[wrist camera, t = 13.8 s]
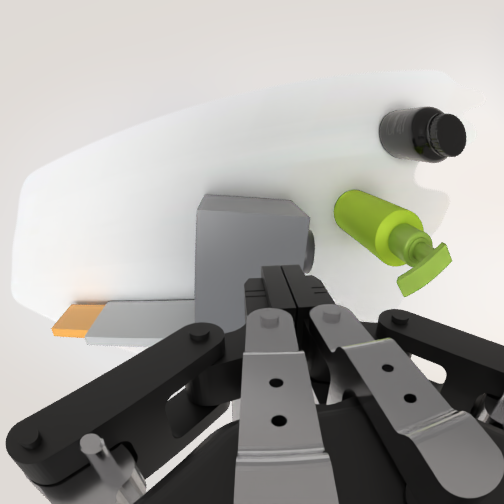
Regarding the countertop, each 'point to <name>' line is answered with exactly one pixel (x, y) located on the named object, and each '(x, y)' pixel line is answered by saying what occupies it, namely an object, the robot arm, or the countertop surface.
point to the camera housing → (243, 251)
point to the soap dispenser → (392, 237)
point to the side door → (125, 322)
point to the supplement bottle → (422, 134)
